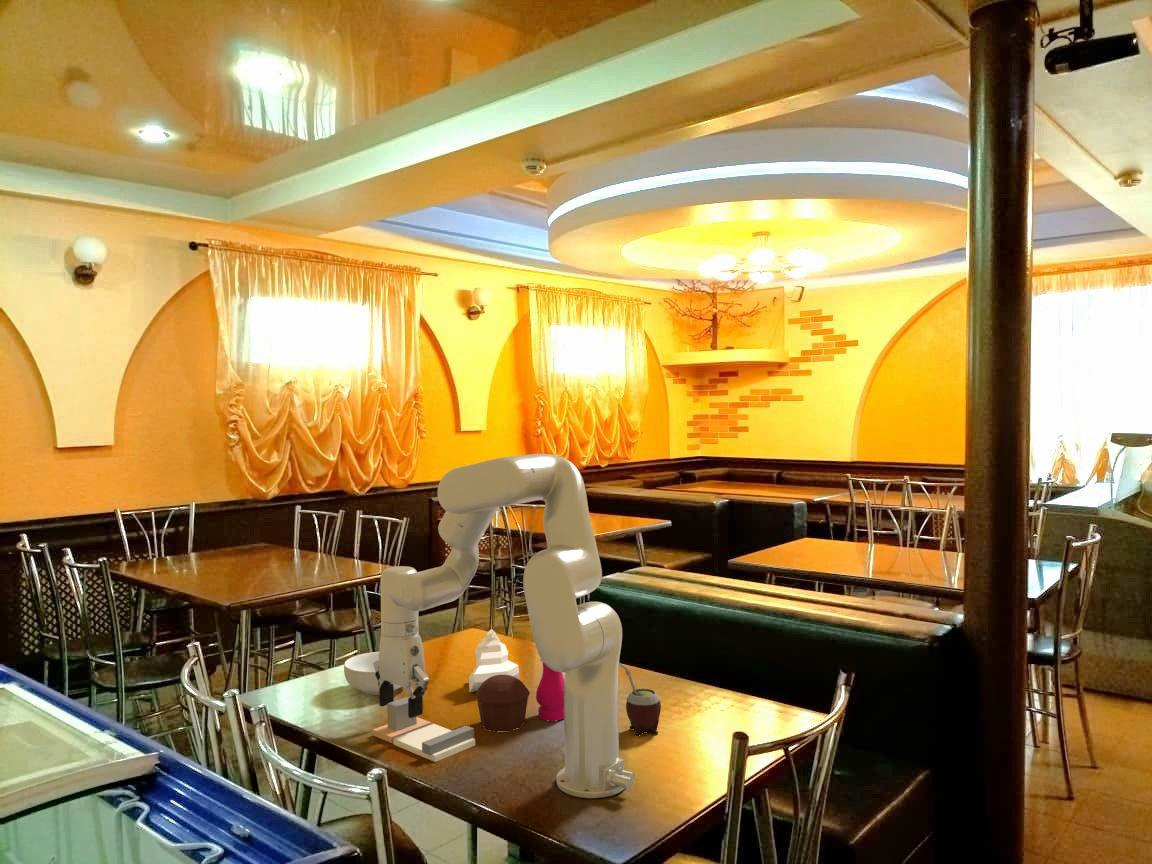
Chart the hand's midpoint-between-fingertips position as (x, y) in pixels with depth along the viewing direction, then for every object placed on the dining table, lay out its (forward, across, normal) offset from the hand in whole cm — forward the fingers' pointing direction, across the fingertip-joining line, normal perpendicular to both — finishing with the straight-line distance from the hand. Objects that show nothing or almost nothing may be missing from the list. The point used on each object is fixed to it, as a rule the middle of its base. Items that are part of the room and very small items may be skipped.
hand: (400, 710), depth 168 cm
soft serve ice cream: (+5, +6, -31) cm, 32 cm away
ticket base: (+4, -11, 0) cm, 11 cm away
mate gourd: (+4, -39, -31) cm, 50 cm away
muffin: (+4, -14, -16) cm, 22 cm away
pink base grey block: (+4, 0, 0) cm, 5 cm away
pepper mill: (+4, -19, -26) cm, 32 cm away
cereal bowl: (+5, +25, -13) cm, 29 cm away
